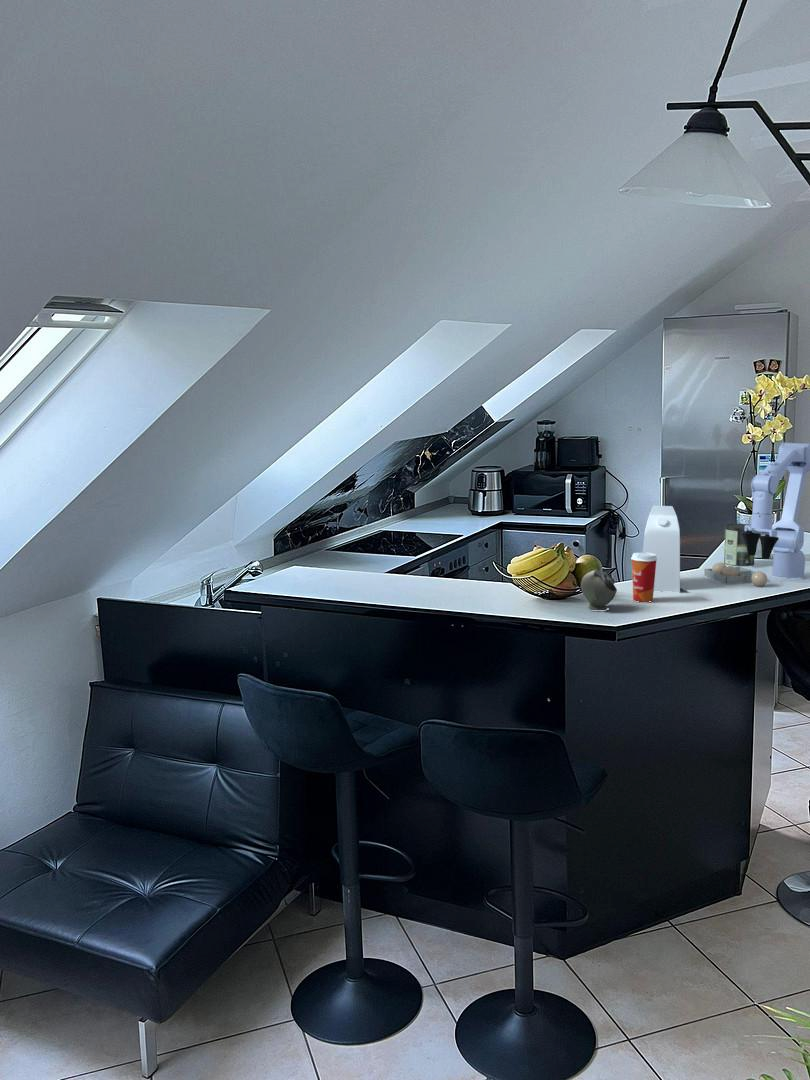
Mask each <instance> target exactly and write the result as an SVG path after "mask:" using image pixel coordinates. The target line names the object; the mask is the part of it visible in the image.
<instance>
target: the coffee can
mask: <svg viewBox="0 0 810 1080" xmlns="http://www.w3.org/2000/svg"><path fill="white" fill-rule="evenodd" d="M745 525H750V524H748V523H747V524H746V523H728V524H725V525H724V527H725V528H724V549H723V550H724V552H723V553H724V554H723V563H724V564H725V565H726V566H733V567H753V568H754V567H755V556H756V555H755V556H753V555H748V552H747V546H746V542H745V540H744V537H743V535H742V533H746V532H747V531H744V530H745Z"/></svg>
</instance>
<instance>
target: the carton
mask: <svg viewBox="0 0 810 1080" xmlns="http://www.w3.org/2000/svg"><path fill="white" fill-rule="evenodd" d="M734 567H735V568H736V569H737V571H738V576H729V577H727V576H724V575H722V573H723V572H720V573H716V572H713V571H712V568H704V577H707V578H709V579H712V580H715V581H717V582H720V583H722V584H726V585H729V584H730V585H731V584H744V583H745V584H746V583H748V584H749V583H752V581H751V577H752V575H753V574H754V573H755V572H756V571H754V570H751V569H748V568H745V567H744V566H734Z"/></svg>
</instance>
